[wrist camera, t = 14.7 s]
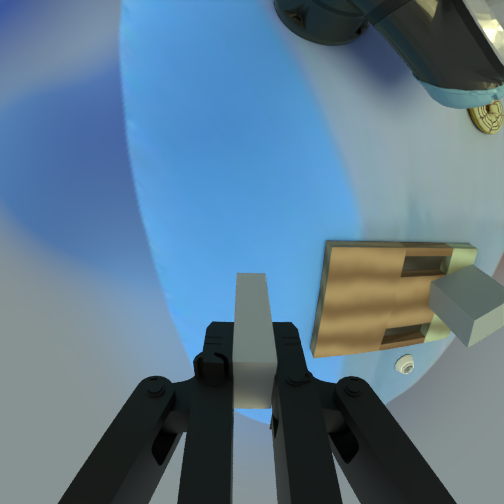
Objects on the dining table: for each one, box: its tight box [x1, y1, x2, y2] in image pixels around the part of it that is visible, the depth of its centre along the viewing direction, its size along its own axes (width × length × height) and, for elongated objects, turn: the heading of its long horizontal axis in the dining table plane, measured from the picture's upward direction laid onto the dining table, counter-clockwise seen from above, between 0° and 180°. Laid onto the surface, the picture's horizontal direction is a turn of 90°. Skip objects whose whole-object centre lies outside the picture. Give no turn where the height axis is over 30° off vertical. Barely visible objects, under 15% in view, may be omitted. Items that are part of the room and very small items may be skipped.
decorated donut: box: [469, 100, 503, 135], centre depth 35 cm, size 10×11×4 cm
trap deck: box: [310, 241, 477, 358], centre depth 49 cm, size 22×34×3 cm, turn 88°
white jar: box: [395, 355, 414, 374], centre depth 57 cm, size 5×3×5 cm
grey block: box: [429, 264, 504, 348], centre depth 41 cm, size 6×12×14 cm, turn 104°
